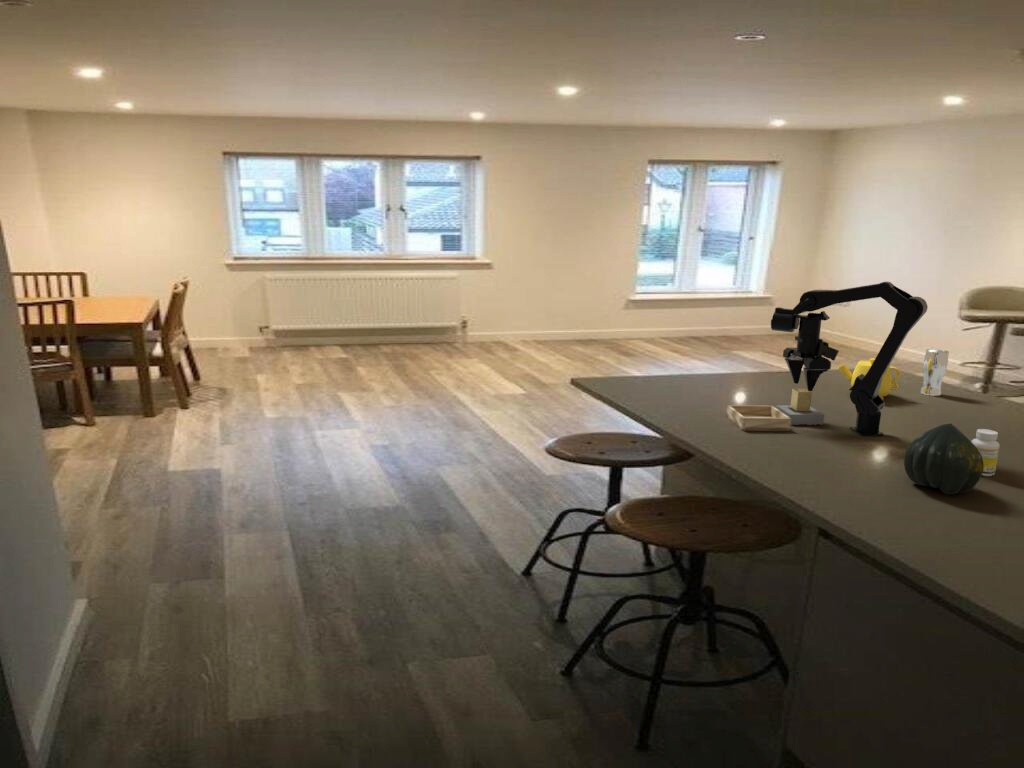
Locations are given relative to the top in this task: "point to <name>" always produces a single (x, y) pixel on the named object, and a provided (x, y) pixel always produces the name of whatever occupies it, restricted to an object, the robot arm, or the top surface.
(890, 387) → the teapot
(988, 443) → the supplement bottle
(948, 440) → the squash
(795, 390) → the pin
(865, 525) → the top surface
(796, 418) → the frame
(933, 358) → the beer glass
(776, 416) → the tray
